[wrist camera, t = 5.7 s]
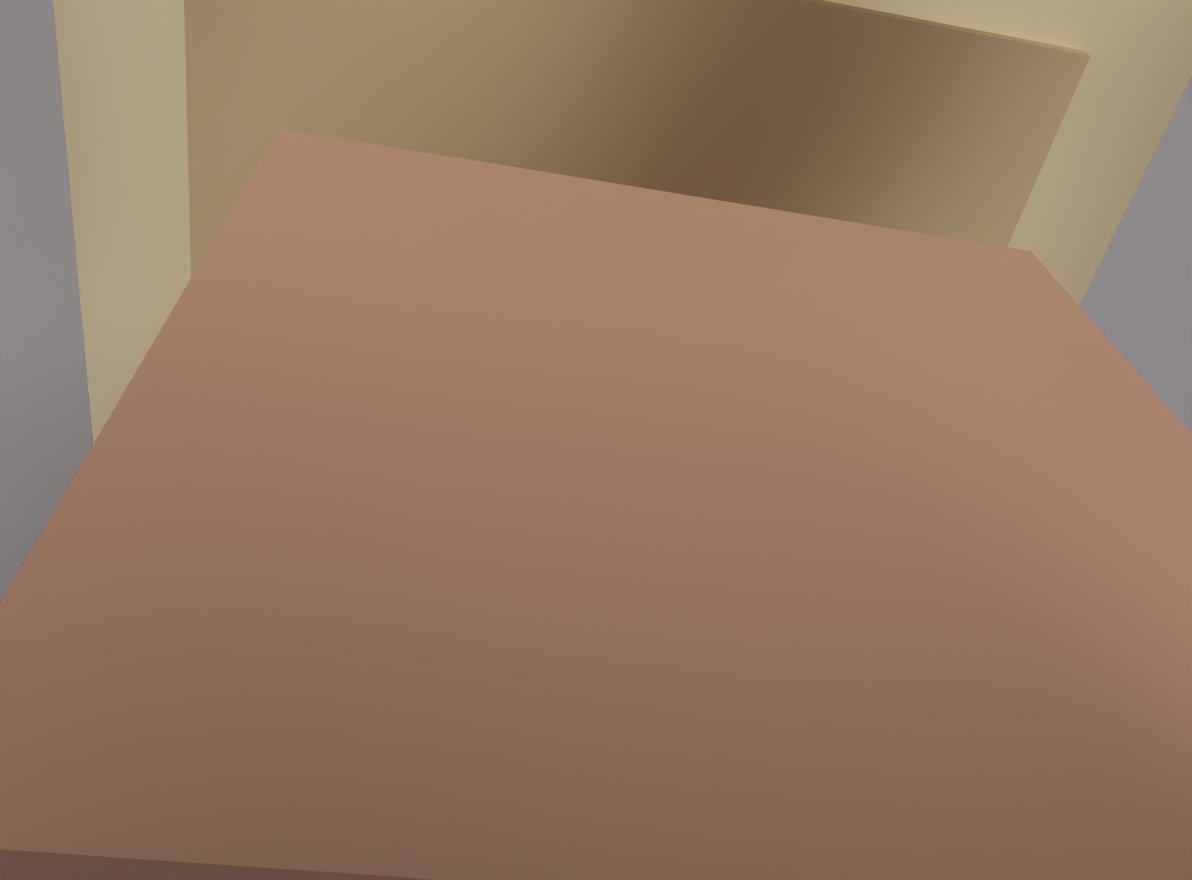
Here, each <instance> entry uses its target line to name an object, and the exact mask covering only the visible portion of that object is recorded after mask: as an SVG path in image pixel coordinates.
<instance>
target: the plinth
mask: <svg viewBox="0 0 1192 880" xmlns="http://www.w3.org/2000/svg"><path fill="white" fill-rule="evenodd" d="M53 6H54V17H55V28H56V39H57V50H58V61H59V72H60V83H61V94H62V105H63V116H64V127H65V138H66V149H67V160H68V171H69V182H70V193H71V204H72V215H73V226H74V237H75V248H76V259H77V270H78V281H79V292H80V303H81V314H82V325H83V336H84V347H85V358H86V369H87V380H88V391H89V402H90V413H91V424H92V435H93V444H94V442H95V440H96V439H97V437H98V435H99V434H100V432H101V430H102V428H103V427H104V425H105V423H106V422H107V420H108V418H109V417H110V415H111V413H112V411H113V410H114V408H115V406H116V405H117V403H118V401H119V400H120V398H121V396H122V394H123V393H124V391H125V389H126V388H127V386H128V384H129V383H130V381H131V379H132V377H133V376H134V374H135V372H136V371H137V369H138V367H139V366H140V364H141V362H142V360H143V359H144V357H145V355H146V354H147V352H148V350H149V348H150V347H151V345H152V343H153V342H154V340H155V338H156V337H157V335H158V333H159V331H160V330H161V328H162V326H163V325H164V323H165V321H166V320H167V318H168V316H169V314H170V313H171V311H172V309H173V308H174V306H175V304H176V303H177V301H178V299H179V297H180V296H181V294H182V292H183V291H184V289H185V287H186V286H187V284H188V282H189V280H190V279H191V277H192V275H193V274H194V272H195V270H196V269H197V267H198V265H199V263H200V262H201V260H202V258H203V257H204V255H205V253H206V252H207V250H208V248H209V246H210V245H211V243H212V241H213V240H214V238H215V236H216V235H217V233H218V231H219V229H220V228H221V226H222V224H223V223H224V221H225V219H226V218H227V216H228V214H229V212H230V211H231V209H232V207H233V206H234V204H235V202H236V201H237V199H238V197H239V195H240V194H241V192H242V190H243V189H244V187H245V185H246V184H247V182H248V180H249V178H250V177H251V175H252V173H253V172H254V170H255V168H256V167H257V165H258V163H259V161H260V160H261V158H262V156H263V155H264V153H265V151H266V150H267V148H268V146H269V144H270V143H271V141H272V139H273V138H274V136H275V134H276V132H277V131H278V129H285V130H291V131H297V132H303V133H309V134H316V135H322V136H328V137H334V138H340V139H346V140H352V141H358V142H365V143H371V144H377V145H383V146H389V147H395V148H401V149H407V150H414V151H420V152H426V153H432V154H438V155H444V156H450V157H457V158H463V159H469V160H475V161H481V162H487V163H493V164H499V165H506V166H512V167H518V168H524V169H530V170H536V171H542V172H548V173H555V174H561V175H567V176H573V177H579V178H585V179H591V180H597V181H604V182H610V183H616V184H622V185H628V186H634V187H640V188H646V189H653V190H659V191H665V192H671V193H677V194H683V195H689V196H696V197H702V198H708V199H714V200H720V201H726V202H732V203H738V204H745V205H751V206H757V207H763V208H769V209H775V210H781V211H787V212H794V213H800V214H806V215H812V216H818V217H824V218H830V219H836V220H843V221H849V222H855V223H861V224H867V225H873V226H879V227H885V228H892V229H898V230H904V231H910V232H916V233H922V234H928V235H935V236H941V237H947V238H953V239H959V240H965V241H971V242H977V243H984V244H990V245H996V246H1002V247H1008V248H1014V249H1020V250H1026V251H1032V253H1033V254H1034V255H1035V256H1036V257H1037V258H1038V259H1039V261H1040V262H1041V263H1042V264H1043V265H1044V266H1045V267H1046V269H1047V270H1048V271H1049V272H1050V273H1051V274H1052V275H1053V277H1054V278H1055V279H1056V280H1057V281H1058V282H1059V284H1060V285H1061V286H1062V287H1063V288H1064V289H1065V290H1066V292H1067V293H1068V294H1069V295H1070V296H1071V297H1072V298H1073V300H1074V301H1075V302H1076V303H1077V304H1078V305H1080V303H1081V301H1082V299H1083V297H1084V295H1085V293H1086V291H1087V289H1088V287H1089V285H1090V283H1091V281H1092V279H1093V277H1094V275H1095V273H1096V271H1097V269H1098V267H1099V265H1100V263H1101V261H1102V259H1103V257H1104V255H1105V253H1106V251H1107V249H1108V247H1109V244H1110V242H1111V240H1112V238H1113V236H1114V234H1115V232H1116V230H1117V228H1118V226H1119V224H1120V222H1121V220H1122V218H1123V216H1124V214H1125V212H1126V210H1127V208H1128V206H1129V204H1130V202H1131V200H1132V198H1133V196H1134V194H1135V192H1136V190H1137V188H1138V186H1139V184H1140V181H1141V179H1142V177H1143V175H1144V173H1145V171H1146V169H1147V167H1148V165H1149V163H1150V161H1151V159H1152V157H1153V155H1154V153H1155V151H1156V149H1157V147H1158V145H1159V143H1160V141H1161V139H1162V137H1163V135H1164V133H1165V131H1166V129H1167V127H1168V125H1169V123H1170V121H1171V118H1172V116H1173V114H1174V112H1175V110H1176V108H1177V106H1178V104H1179V102H1180V100H1181V98H1182V96H1183V94H1184V92H1185V90H1186V88H1187V86H1188V84H1189V82H1190V80H1191V78H1192V0H53Z"/></svg>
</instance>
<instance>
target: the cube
mask: <svg viewBox="0 0 1192 880" xmlns="http://www.w3.org/2000/svg"><path fill="white" fill-rule="evenodd" d="M0 880H1192V434H1191V433H1190V432H1189V431H1188V430H1187V429H1186V428H1185V426H1184V425H1183V424H1182V423H1181V422H1180V421H1179V420H1178V418H1177V417H1176V416H1175V415H1174V414H1173V413H1172V412H1171V410H1170V409H1169V408H1168V407H1167V406H1166V405H1165V404H1164V402H1163V401H1162V400H1161V399H1160V398H1159V397H1158V396H1157V394H1156V393H1155V392H1154V391H1153V390H1152V389H1151V388H1150V386H1149V385H1148V384H1147V383H1146V382H1145V381H1144V380H1143V378H1142V377H1141V376H1140V375H1139V374H1138V373H1137V372H1136V370H1135V369H1134V368H1133V367H1132V366H1131V365H1130V364H1129V362H1128V361H1127V360H1126V359H1125V358H1124V357H1123V356H1122V354H1121V353H1120V352H1119V351H1118V350H1117V349H1116V348H1115V346H1114V345H1113V344H1112V343H1111V342H1110V341H1109V340H1108V338H1107V337H1106V336H1105V335H1104V334H1103V333H1102V332H1101V330H1100V329H1099V328H1098V327H1097V326H1096V325H1095V324H1094V322H1093V321H1092V320H1091V319H1090V318H1089V317H1088V316H1087V314H1086V313H1085V312H1084V311H1083V310H1082V309H1081V308H1080V306H1079V305H1078V304H1077V303H1076V302H1075V301H1074V300H1073V298H1072V297H1071V296H1070V295H1069V294H1068V293H1067V292H1066V290H1065V289H1064V288H1063V287H1062V286H1061V285H1060V284H1059V282H1058V281H1057V280H1056V279H1055V278H1054V277H1053V275H1052V274H1051V273H1050V272H1049V271H1048V270H1047V269H1046V267H1045V266H1044V265H1043V264H1042V263H1041V262H1040V261H1039V259H1038V258H1037V257H1036V256H1035V255H1034V254H1033V253H1032V251H1026V250H1020V249H1014V248H1008V247H1002V246H996V245H990V244H984V243H977V242H971V241H965V240H959V239H953V238H947V237H941V236H935V235H928V234H922V233H916V232H910V231H904V230H898V229H892V228H885V227H879V226H873V225H867V224H861V223H855V222H849V221H843V220H836V219H830V218H824V217H818V216H812V215H806V214H800V213H794V212H787V211H781V210H775V209H769V208H763V207H757V206H751V205H745V204H738V203H732V202H726V201H720V200H714V199H708V198H702V197H696V196H689V195H683V194H677V193H671V192H665V191H659V190H653V189H646V188H640V187H634V186H628V185H622V184H616V183H610V182H604V181H597V180H591V179H585V178H579V177H573V176H567V175H561V174H555V173H548V172H542V171H536V170H530V169H524V168H518V167H512V166H506V165H499V164H493V163H487V162H481V161H475V160H469V159H463V158H457V157H450V156H444V155H438V154H432V153H426V152H420V151H414V150H407V149H401V148H395V147H389V146H383V145H377V144H371V143H365V142H358V141H352V140H346V139H340V138H334V137H328V136H322V135H316V134H309V133H303V132H297V131H291V130H285V129H278V131H277V132H276V134H275V136H274V138H273V139H272V141H271V143H270V144H269V146H268V148H267V150H266V151H265V153H264V155H263V156H262V158H261V160H260V161H259V163H258V165H257V167H256V168H255V170H254V172H253V173H252V175H251V177H250V178H249V180H248V182H247V184H246V185H245V187H244V189H243V190H242V192H241V194H240V195H239V197H238V199H237V201H236V202H235V204H234V206H233V207H232V209H231V211H230V212H229V214H228V216H227V218H226V219H225V221H224V223H223V224H222V226H221V228H220V229H219V231H218V233H217V235H216V236H215V238H214V240H213V241H212V243H211V245H210V246H209V248H208V250H207V252H206V253H205V255H204V257H203V258H202V260H201V262H200V263H199V265H198V267H197V269H196V270H195V272H194V274H193V275H192V277H191V279H190V280H189V282H188V284H187V286H186V287H185V289H184V291H183V292H182V294H181V296H180V297H179V299H178V301H177V303H176V304H175V306H174V308H173V309H172V311H171V313H170V314H169V316H168V318H167V320H166V321H165V323H164V325H163V326H162V328H161V330H160V331H159V333H158V335H157V337H156V338H155V340H154V342H153V343H152V345H151V347H150V348H149V350H148V352H147V354H146V355H145V357H144V359H143V360H142V362H141V364H140V366H139V367H138V369H137V371H136V372H135V374H134V376H133V377H132V379H131V381H130V383H129V384H128V386H127V388H126V389H125V391H124V393H123V394H122V396H121V398H120V400H119V401H118V403H117V405H116V406H115V408H114V410H113V411H112V413H111V415H110V417H109V418H108V420H107V422H106V423H105V425H104V427H103V428H102V430H101V432H100V434H99V435H98V437H97V439H96V440H95V442H94V444H93V445H92V447H91V449H90V451H89V452H88V454H87V456H86V457H85V459H84V461H83V462H82V464H81V466H80V468H79V469H78V471H77V473H76V474H75V476H74V478H73V479H72V481H71V483H70V485H69V486H68V488H67V490H66V491H65V493H64V495H63V496H62V498H61V500H60V502H59V503H58V505H57V507H56V508H55V510H54V512H53V513H52V515H51V517H50V519H49V520H48V522H47V524H46V525H45V527H44V529H43V530H42V532H41V534H40V536H39V537H38V539H37V541H36V542H35V544H34V546H33V547H32V549H31V551H30V553H29V554H28V556H27V558H26V559H25V561H24V563H23V565H22V566H21V568H20V570H19V571H18V573H17V575H16V576H15V578H14V580H13V582H12V583H11V585H10V587H9V588H8V590H7V592H6V593H5V595H4V597H3V599H2V600H1V602H0Z"/></svg>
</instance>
